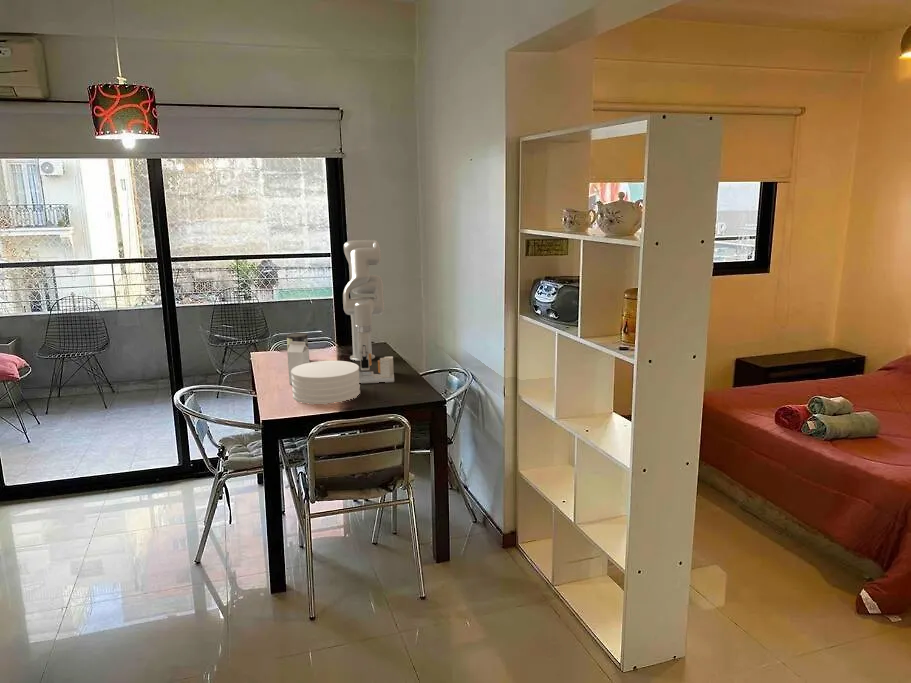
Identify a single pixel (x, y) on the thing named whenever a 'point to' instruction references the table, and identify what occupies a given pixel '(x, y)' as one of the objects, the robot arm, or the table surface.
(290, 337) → the coffee can
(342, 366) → the plate stack
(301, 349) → the milk carton
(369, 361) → the right finger
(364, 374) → the rail
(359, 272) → the robot arm
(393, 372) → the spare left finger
